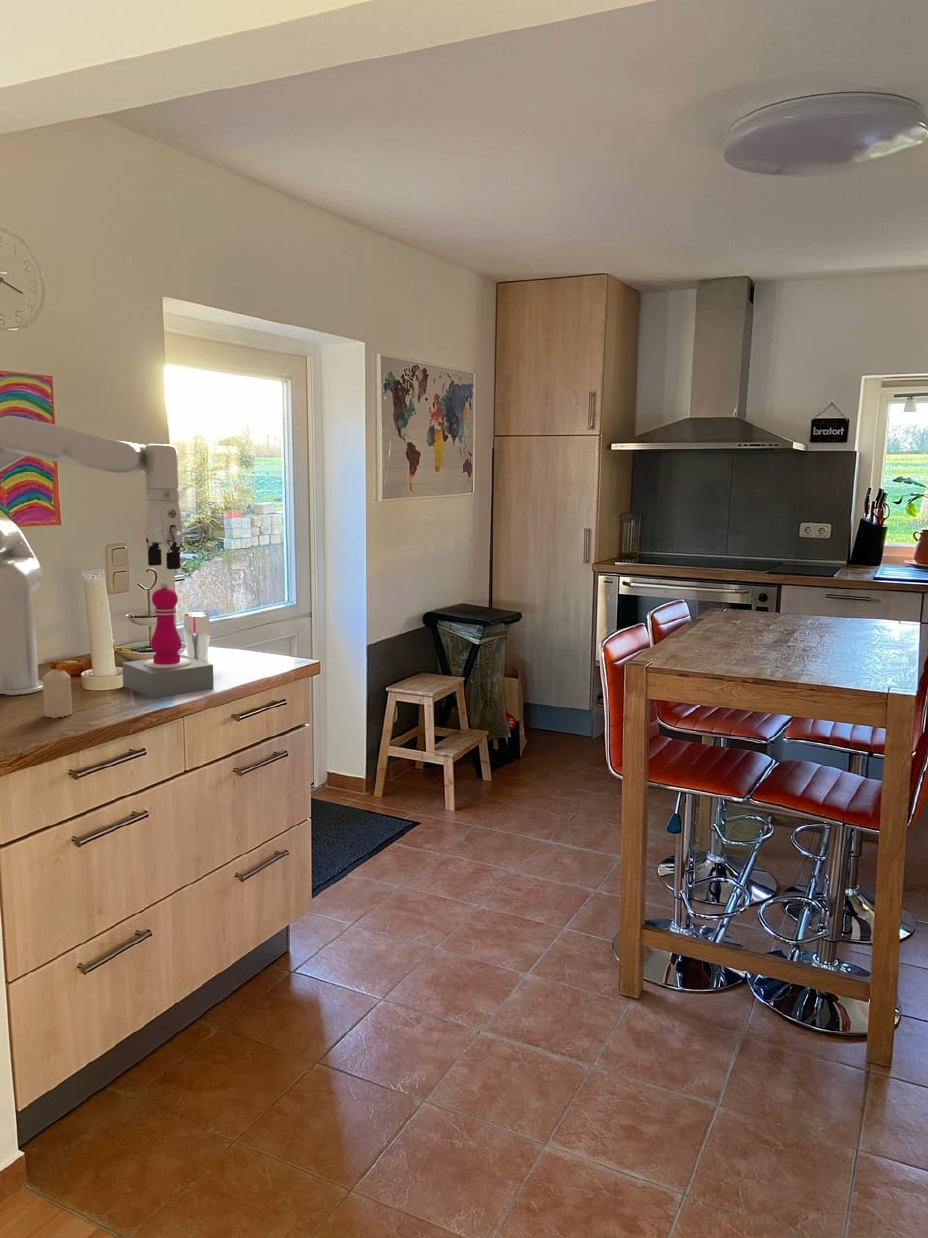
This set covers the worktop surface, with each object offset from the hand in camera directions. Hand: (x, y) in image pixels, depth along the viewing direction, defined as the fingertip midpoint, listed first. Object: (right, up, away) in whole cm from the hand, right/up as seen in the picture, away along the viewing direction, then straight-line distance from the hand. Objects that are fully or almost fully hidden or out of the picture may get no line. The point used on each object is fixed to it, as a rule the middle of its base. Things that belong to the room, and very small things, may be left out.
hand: (164, 567), depth 219 cm
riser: (-1, -30, +5) cm, 30 cm away
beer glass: (0, -26, +26) cm, 37 cm away
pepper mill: (-1, -24, +4) cm, 24 cm away
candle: (-16, -34, -22) cm, 44 cm away
